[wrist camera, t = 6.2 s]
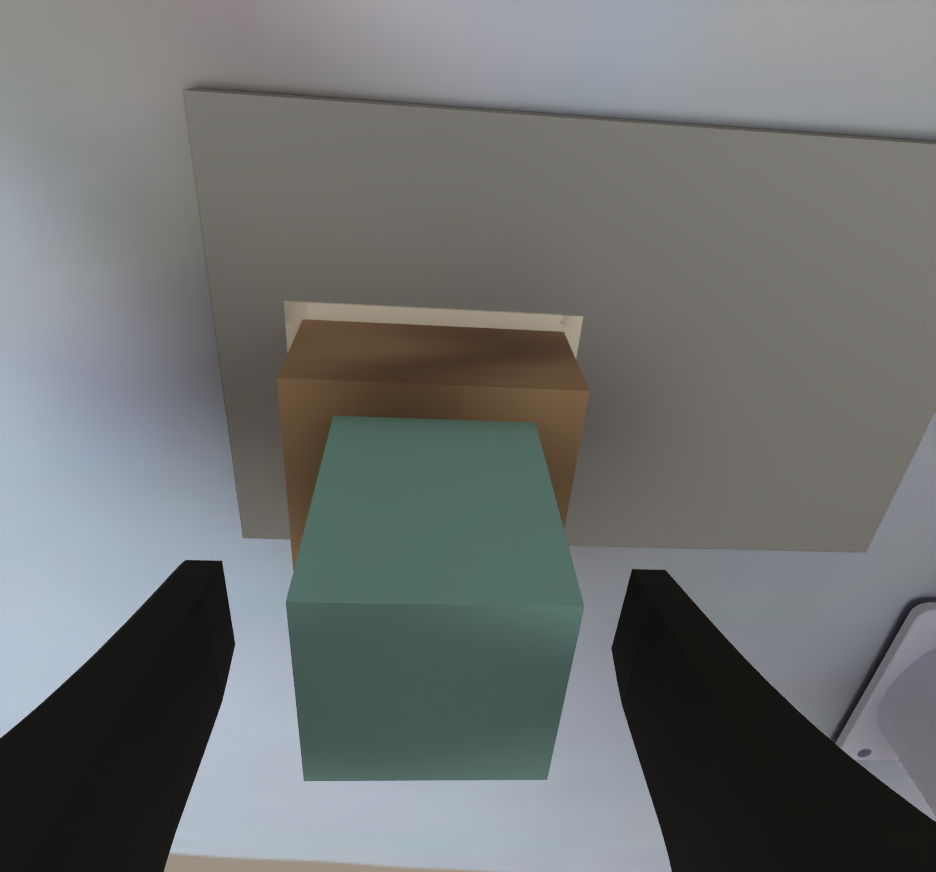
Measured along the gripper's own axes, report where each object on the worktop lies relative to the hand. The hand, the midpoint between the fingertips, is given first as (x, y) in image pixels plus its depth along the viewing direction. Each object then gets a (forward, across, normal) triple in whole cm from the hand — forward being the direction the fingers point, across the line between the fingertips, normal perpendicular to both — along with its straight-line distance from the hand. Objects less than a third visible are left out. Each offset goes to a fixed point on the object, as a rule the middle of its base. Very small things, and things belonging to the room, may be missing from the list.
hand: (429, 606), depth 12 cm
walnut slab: (+6, 0, 0) cm, 6 cm away
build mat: (+6, -4, -2) cm, 8 cm away
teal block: (+3, 0, 0) cm, 3 cm away
